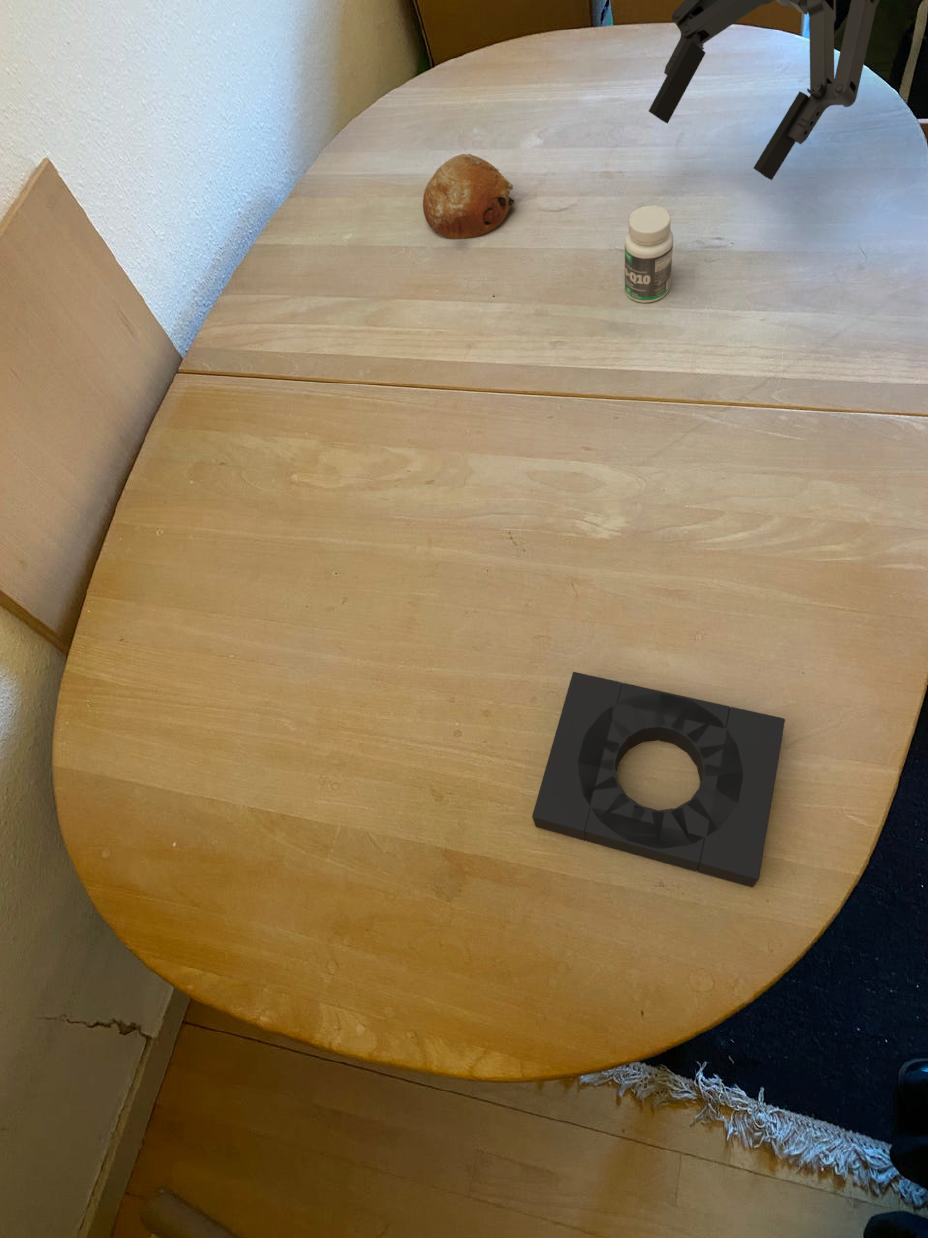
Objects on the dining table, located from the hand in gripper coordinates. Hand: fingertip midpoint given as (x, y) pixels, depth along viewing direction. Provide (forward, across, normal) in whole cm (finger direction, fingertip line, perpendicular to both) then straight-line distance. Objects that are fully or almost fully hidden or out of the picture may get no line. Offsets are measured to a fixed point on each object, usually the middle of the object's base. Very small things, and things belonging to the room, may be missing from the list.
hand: (707, 145), depth 79 cm
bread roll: (+17, +24, 0) cm, 30 cm away
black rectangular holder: (+39, -40, +22) cm, 60 cm away
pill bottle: (+14, 0, -3) cm, 14 cm away
